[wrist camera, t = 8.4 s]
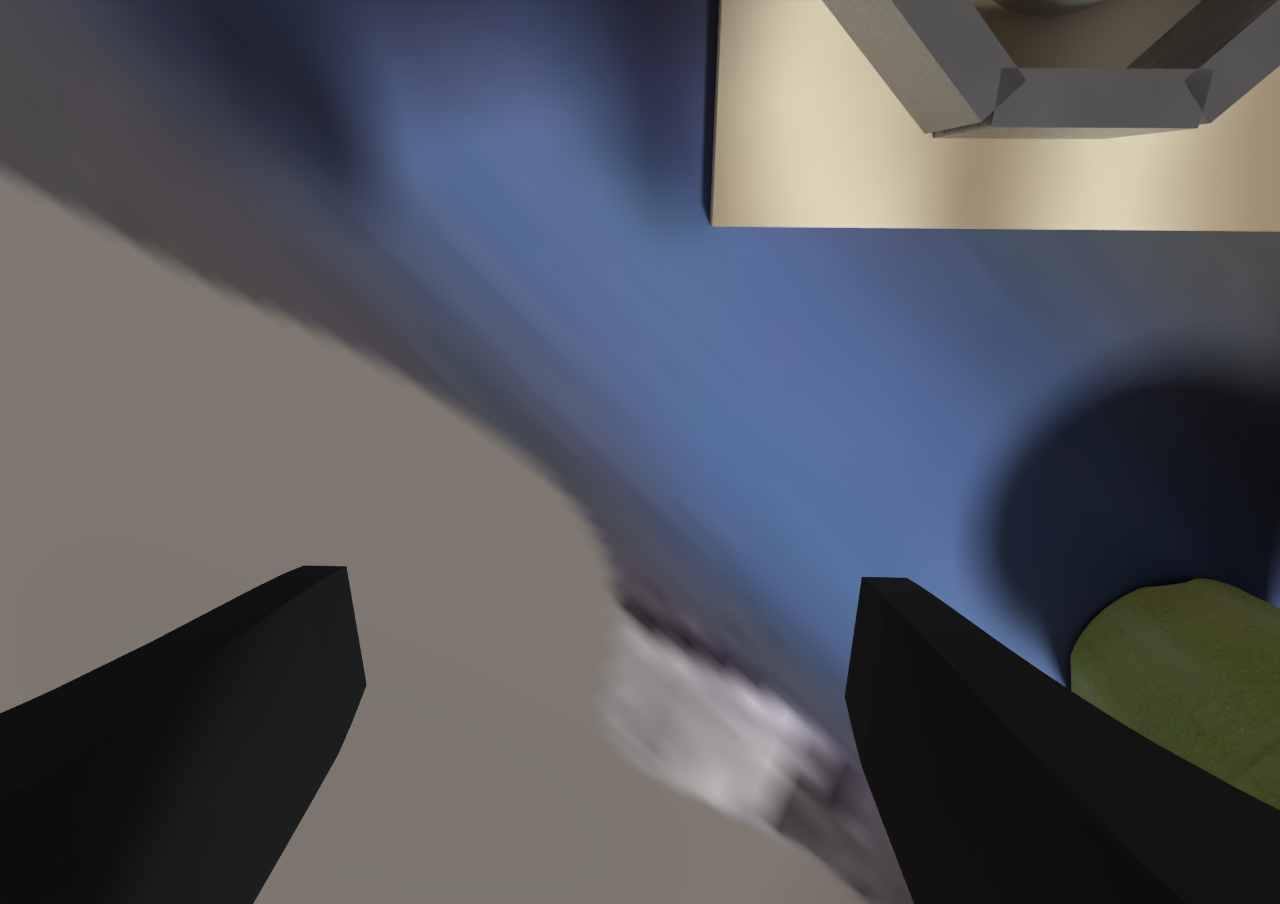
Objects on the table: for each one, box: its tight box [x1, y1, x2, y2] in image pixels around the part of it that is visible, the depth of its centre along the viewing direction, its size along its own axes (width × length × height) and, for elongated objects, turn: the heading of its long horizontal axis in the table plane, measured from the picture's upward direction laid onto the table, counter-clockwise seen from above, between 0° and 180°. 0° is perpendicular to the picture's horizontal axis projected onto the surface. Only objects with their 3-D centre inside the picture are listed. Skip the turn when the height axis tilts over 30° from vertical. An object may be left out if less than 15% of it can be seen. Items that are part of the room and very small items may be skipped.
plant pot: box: [1070, 579, 1280, 810], centre depth 18 cm, size 9×9×9 cm
